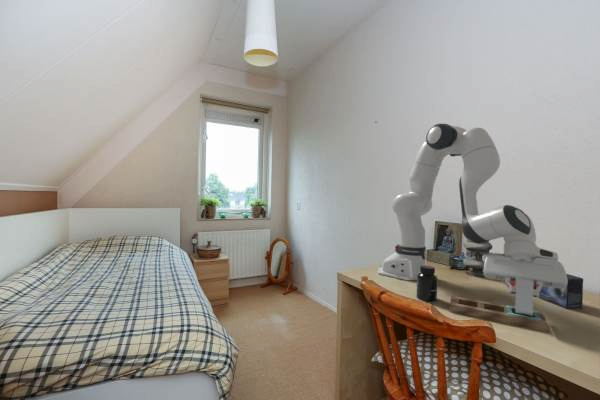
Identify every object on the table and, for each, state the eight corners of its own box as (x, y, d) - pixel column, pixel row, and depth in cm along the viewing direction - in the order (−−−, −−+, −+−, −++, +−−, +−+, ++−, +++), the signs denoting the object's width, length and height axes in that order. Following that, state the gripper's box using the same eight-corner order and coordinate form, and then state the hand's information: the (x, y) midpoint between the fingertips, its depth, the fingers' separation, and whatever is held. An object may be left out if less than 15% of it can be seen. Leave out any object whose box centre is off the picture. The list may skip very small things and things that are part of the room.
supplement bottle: (435, 305, 97) (436, 270, 96) (414, 300, 100) (415, 267, 100) (438, 298, 103) (438, 266, 102) (418, 295, 106) (418, 263, 106)
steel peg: (515, 312, 83) (516, 279, 82) (514, 308, 86) (514, 275, 86) (532, 316, 80) (533, 281, 80) (530, 311, 84) (531, 278, 84)
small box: (536, 297, 105) (537, 270, 105) (552, 297, 105) (553, 269, 105) (566, 309, 94) (567, 278, 94) (583, 309, 95) (584, 278, 95)
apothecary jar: (458, 270, 142) (458, 235, 141) (482, 271, 141) (483, 235, 140) (471, 277, 130) (472, 239, 129) (498, 278, 129) (499, 239, 128)
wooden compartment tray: (449, 313, 90) (449, 303, 90) (451, 304, 98) (451, 294, 97) (547, 334, 77) (547, 322, 77) (541, 321, 84) (542, 311, 84)
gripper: (482, 246, 94) (482, 282, 86) (564, 253, 83) (572, 296, 75) (482, 257, 98) (481, 292, 90) (560, 265, 87) (567, 307, 79)
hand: (523, 294), depth 83 cm, fingers closed on steel peg, 4 cm apart
